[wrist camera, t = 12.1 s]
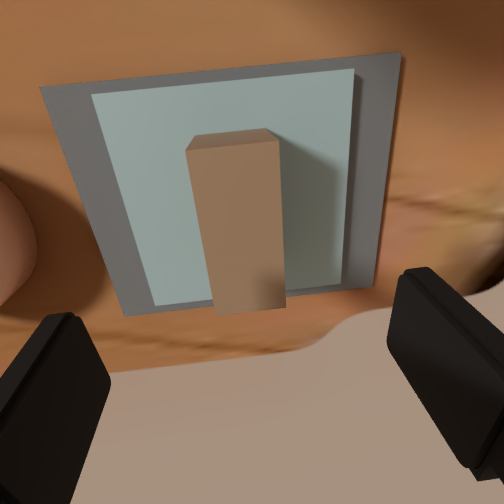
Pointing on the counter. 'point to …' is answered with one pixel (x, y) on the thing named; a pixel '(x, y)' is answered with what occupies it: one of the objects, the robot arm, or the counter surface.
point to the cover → (234, 185)
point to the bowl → (15, 244)
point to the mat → (87, 123)
